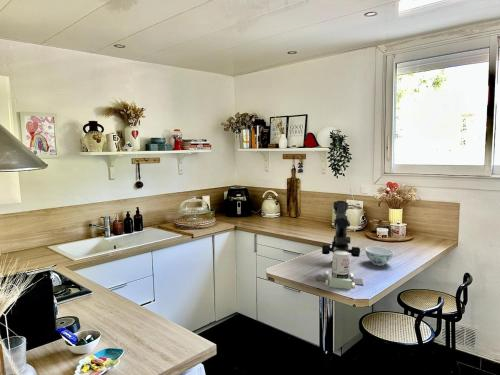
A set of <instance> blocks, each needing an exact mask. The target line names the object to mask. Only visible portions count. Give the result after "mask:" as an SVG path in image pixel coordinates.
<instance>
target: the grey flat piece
mask: <svg viewBox="0 0 500 375" xmlns="http://www.w3.org/2000/svg"><path fill="white" fill-rule="evenodd" d="M316 277H317V278H316V281H317V282H325V286H329V288H336V289H346V290H352V289H354V288H356V286H361V287H363V286H364V281H363V279H362V278H355V277H354V273H353V272H350V278H349V279H342V278H332V276H331V277H329V270H326V271H325V275H323V274H321V275H320V274H317V276H316ZM328 277H329V280H328Z"/></svg>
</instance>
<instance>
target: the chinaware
mask: <svg viewBox="0 0 500 375" xmlns="http://www.w3.org/2000/svg"><path fill="white" fill-rule="evenodd" d="M365 254H366V256H367V258H368V260H369V261H370V262H371V263H372V264H373V265H374V266H385V264H386V263H388V262H390V261H391V259H392V258H393V255H394V251H393V250H392V249H390V248H386V247H382V246H367V247H366V248H365Z"/></svg>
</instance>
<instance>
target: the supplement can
mask: <svg viewBox="0 0 500 375" xmlns="http://www.w3.org/2000/svg"><path fill="white" fill-rule="evenodd" d="M331 263H332V264H331V278H342V279H350V269H351V266H350V265H351V256H350V253H348V252H346V251H335V252H334V254H333V253H332V262H331Z"/></svg>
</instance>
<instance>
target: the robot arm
mask: <svg viewBox="0 0 500 375" xmlns="http://www.w3.org/2000/svg"><path fill="white" fill-rule="evenodd" d="M332 205H333V207H332V209H333V211H334V212H333V213H334V215H335V219H334V220H333V226H334V228H335V234H334V237H333V241H331V244H322V246H321V253H322V254H323V255H329V254H330V253H332V255H333V254H334V252H335V251H346V252H348V253H349V254H351V257H353V258H356V257H357V258H359V257H360V254H361V248H360V247H359V246H352V247H351V248H349V247H350V246H349V244H351V236H347V235H348V234H347V232H348V228H349V227H350V226H351V223H350V221H349V219H348V216H347V211H348V209H349V203H348V202H347V201H345V200H337V201H334V202H333V204H332ZM330 262H331V263H332V261H330Z"/></svg>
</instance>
